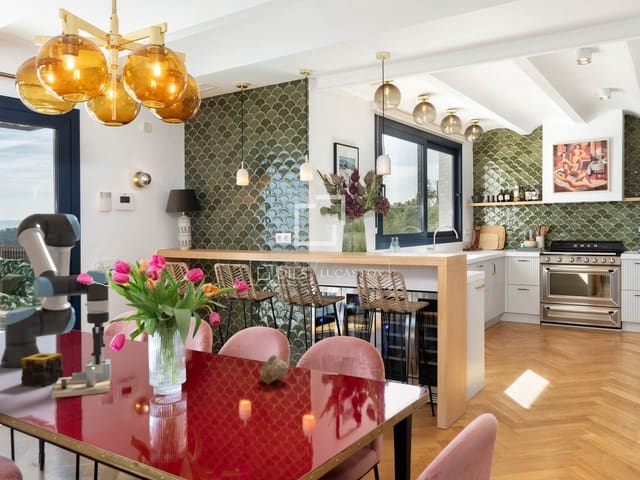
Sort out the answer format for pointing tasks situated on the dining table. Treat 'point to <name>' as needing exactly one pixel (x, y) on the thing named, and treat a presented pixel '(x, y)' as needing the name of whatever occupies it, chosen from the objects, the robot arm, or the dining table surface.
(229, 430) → the dining table surface
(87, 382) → the post
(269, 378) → the rock
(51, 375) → the yellow black cube
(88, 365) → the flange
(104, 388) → the board
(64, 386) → the dowel
